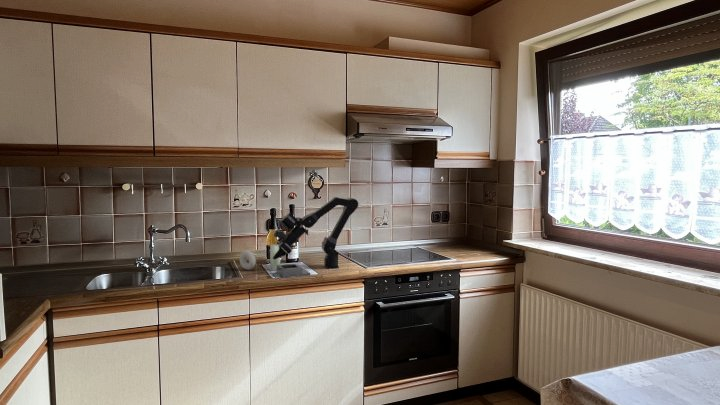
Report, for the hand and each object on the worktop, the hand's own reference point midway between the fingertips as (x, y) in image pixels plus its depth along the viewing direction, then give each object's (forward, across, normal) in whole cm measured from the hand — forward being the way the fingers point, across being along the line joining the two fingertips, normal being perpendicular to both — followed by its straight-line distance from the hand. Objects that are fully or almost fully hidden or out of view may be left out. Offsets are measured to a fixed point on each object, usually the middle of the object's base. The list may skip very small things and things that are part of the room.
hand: (272, 257), depth 230 cm
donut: (+14, -3, -4) cm, 14 cm away
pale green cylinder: (+4, 0, +6) cm, 7 cm away
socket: (-2, +10, +11) cm, 15 cm away
